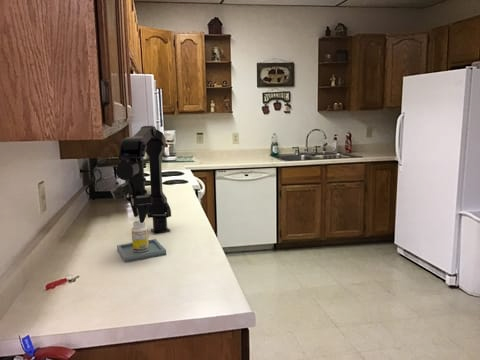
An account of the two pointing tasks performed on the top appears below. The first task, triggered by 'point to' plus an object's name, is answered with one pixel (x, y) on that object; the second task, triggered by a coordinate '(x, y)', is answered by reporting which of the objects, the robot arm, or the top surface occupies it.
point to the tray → (131, 255)
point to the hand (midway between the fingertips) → (138, 219)
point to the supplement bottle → (140, 237)
